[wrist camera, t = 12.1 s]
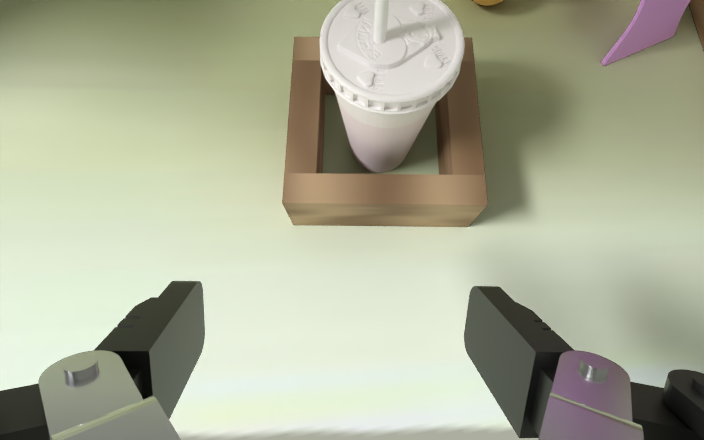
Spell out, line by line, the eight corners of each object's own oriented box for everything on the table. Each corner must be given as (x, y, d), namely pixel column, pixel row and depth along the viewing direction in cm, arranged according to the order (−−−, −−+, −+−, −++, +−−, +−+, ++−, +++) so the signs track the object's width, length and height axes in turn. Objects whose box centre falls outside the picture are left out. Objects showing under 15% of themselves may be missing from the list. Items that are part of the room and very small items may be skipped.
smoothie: (324, 112, 27) (293, -113, 14) (416, 98, 28) (472, -137, 14) (339, 199, 25) (321, 32, 12) (438, 182, 26) (527, 1, 12)
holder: (293, 224, 25) (282, 202, 22) (302, 78, 29) (294, 36, 25) (467, 226, 25) (487, 205, 21) (456, 79, 29) (472, 37, 25)
